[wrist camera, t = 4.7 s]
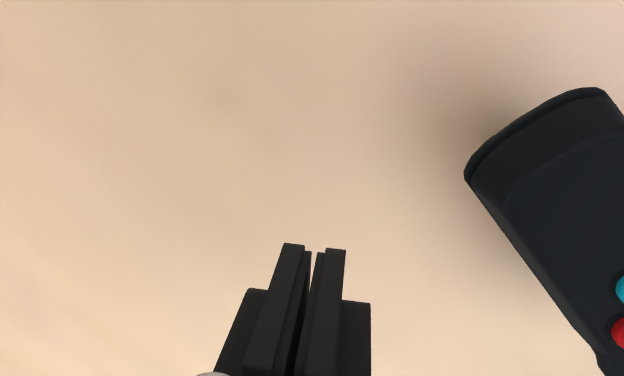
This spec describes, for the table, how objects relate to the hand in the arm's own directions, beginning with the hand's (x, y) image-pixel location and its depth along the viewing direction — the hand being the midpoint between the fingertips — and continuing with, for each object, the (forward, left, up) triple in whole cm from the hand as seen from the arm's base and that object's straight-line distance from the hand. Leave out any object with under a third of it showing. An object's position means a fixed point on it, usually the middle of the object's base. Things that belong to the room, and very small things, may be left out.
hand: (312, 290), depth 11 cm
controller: (0, +9, -9) cm, 13 cm away
